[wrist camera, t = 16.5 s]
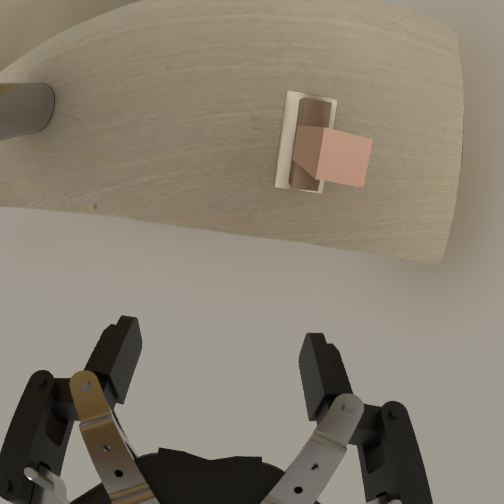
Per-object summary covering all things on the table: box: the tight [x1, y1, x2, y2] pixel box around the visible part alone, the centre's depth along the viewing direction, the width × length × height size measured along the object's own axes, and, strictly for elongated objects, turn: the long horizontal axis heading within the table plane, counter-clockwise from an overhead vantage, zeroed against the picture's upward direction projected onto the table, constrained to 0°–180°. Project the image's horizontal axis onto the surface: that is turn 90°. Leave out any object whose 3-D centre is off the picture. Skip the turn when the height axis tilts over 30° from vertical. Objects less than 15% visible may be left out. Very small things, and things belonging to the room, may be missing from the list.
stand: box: [274, 91, 337, 194], centre depth 34 cm, size 7×14×5 cm, turn 174°
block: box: [292, 125, 373, 188], centre depth 26 cm, size 4×4×12 cm
